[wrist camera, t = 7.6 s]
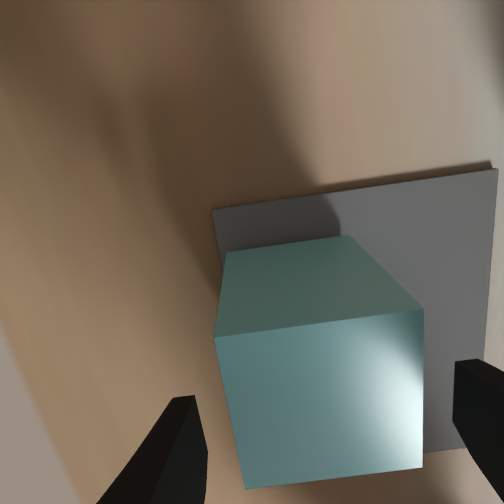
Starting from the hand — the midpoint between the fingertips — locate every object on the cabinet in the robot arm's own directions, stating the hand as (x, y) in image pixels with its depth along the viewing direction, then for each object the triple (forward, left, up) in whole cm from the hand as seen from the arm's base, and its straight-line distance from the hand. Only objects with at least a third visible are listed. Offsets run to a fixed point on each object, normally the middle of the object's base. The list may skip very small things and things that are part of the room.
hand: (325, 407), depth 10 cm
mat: (-3, -3, -7) cm, 8 cm away
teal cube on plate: (0, 0, -6) cm, 6 cm away
